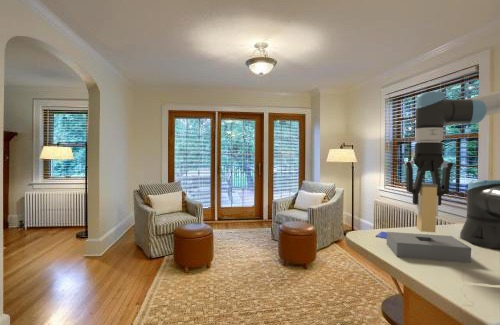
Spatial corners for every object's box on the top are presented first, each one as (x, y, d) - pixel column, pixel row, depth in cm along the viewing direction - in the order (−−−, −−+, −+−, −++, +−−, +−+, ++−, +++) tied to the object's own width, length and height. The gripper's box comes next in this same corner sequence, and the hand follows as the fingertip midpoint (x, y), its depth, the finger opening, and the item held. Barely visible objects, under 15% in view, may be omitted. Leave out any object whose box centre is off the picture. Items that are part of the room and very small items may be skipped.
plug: (430, 228, 92) (431, 183, 91) (435, 232, 88) (437, 184, 87) (416, 228, 93) (417, 182, 92) (420, 231, 89) (422, 184, 88)
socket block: (450, 250, 94) (451, 235, 94) (470, 264, 83) (471, 247, 82) (386, 245, 99) (386, 231, 98) (396, 258, 87) (397, 242, 87)
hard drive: (375, 235, 107) (412, 243, 99) (382, 231, 113) (417, 237, 105) (375, 239, 107) (412, 247, 99) (381, 234, 113) (417, 241, 105)
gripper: (403, 141, 87) (400, 216, 88) (465, 141, 84) (462, 219, 85) (395, 142, 95) (393, 211, 96) (453, 142, 91) (450, 213, 92)
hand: (426, 214), depth 90 cm, fingers closed on plug, 4 cm apart
